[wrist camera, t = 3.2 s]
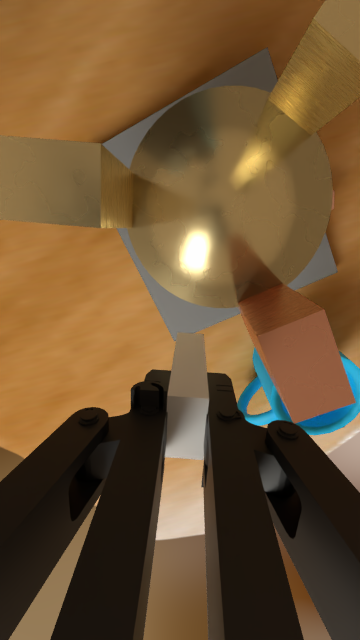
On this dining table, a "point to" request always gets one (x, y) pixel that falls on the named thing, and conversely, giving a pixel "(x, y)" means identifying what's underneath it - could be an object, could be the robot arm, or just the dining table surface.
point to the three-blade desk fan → (222, 201)
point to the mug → (312, 426)
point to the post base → (123, 147)
